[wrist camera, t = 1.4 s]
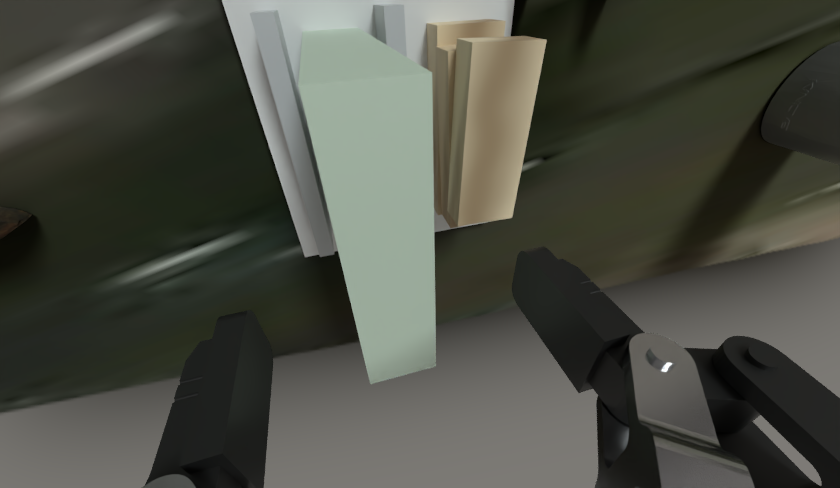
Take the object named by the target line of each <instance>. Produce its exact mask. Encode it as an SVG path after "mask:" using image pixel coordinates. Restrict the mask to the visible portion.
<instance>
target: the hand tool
mask: <svg viewBox="0 0 840 488" xmlns="http://www.w3.org/2000/svg"><path fill="white" fill-rule="evenodd" d="M31 216H32V214H30V213H28V212H25V211H21V210H18V209H15V208H7V207H0V239H2V238H3V237H5V236H6V235H8V234H9V233H10V232H12V231H13V230H14V229H16V228H17V227H18V226H20V225H21V224H22V223H24V222H25V221H26V220H28V219H29V218H30V217H31Z"/></svg>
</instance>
